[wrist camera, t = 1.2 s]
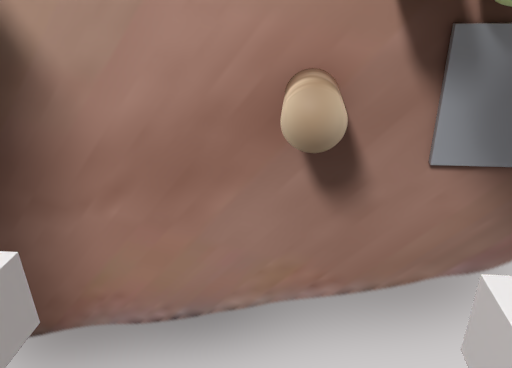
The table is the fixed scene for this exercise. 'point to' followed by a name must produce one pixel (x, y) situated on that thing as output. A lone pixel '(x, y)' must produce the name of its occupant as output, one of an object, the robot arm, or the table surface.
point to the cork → (313, 111)
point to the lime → (505, 2)
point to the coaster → (476, 98)
